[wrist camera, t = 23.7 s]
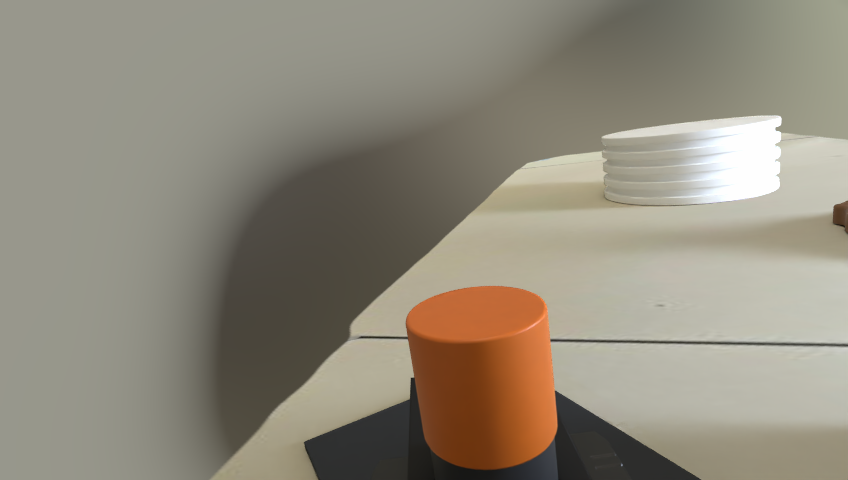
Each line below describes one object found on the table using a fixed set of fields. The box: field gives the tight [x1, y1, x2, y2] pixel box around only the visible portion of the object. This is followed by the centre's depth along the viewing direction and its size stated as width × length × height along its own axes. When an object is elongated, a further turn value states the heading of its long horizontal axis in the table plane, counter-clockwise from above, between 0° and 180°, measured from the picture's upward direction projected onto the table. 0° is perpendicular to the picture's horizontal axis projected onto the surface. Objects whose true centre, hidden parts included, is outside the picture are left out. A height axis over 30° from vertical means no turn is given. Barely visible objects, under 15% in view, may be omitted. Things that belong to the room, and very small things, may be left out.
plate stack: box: [601, 116, 781, 205], centre depth 87 cm, size 28×28×12 cm
